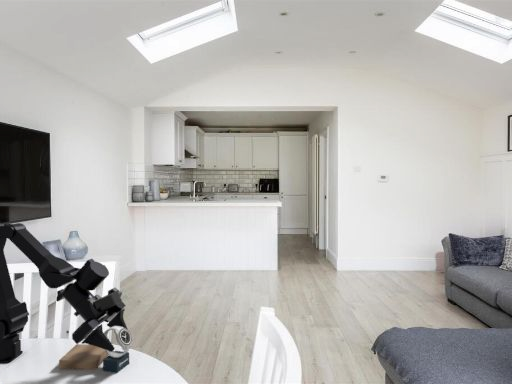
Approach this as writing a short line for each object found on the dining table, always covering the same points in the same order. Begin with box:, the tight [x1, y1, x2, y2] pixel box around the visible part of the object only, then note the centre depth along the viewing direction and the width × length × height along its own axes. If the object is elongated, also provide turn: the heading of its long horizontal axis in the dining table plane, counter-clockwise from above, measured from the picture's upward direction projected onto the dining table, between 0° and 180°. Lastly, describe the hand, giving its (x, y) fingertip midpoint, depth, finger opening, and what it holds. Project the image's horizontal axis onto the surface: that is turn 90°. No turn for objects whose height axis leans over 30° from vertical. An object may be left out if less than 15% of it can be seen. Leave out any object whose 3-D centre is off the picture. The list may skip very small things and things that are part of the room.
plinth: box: [58, 343, 109, 371], centre depth 111 cm, size 10×10×2 cm
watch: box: [102, 326, 133, 374], centre depth 107 cm, size 6×8×11 cm
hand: (121, 343), depth 107 cm, fingers open, 8 cm apart
